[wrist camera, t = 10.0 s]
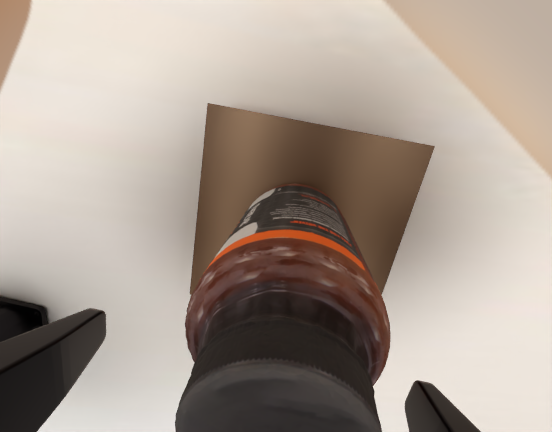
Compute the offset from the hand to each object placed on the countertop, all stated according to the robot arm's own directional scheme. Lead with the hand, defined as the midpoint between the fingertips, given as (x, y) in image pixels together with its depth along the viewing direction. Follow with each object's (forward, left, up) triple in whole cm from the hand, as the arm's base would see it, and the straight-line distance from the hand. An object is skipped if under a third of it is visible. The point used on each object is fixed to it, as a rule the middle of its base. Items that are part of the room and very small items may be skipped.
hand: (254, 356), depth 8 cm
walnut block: (+1, +1, -13) cm, 13 cm away
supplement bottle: (+1, +1, -9) cm, 9 cm away
